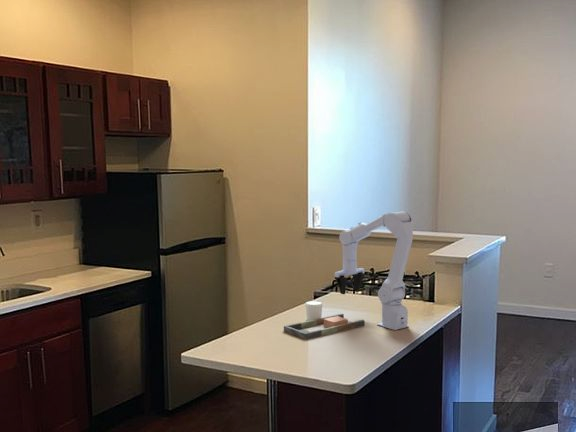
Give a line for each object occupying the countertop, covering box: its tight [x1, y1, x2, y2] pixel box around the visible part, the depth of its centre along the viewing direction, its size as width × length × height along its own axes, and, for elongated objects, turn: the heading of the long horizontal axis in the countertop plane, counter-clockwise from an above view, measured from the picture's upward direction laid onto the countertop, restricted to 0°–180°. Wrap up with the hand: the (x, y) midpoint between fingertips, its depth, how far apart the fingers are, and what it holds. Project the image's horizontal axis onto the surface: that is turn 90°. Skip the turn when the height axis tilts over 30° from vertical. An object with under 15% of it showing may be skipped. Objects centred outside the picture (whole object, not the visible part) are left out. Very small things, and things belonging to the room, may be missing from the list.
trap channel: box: [283, 313, 366, 340], centre depth 230 cm, size 13×29×2 cm, turn 127°
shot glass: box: [305, 300, 323, 321], centre depth 242 cm, size 7×7×7 cm
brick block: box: [323, 316, 349, 328], centre depth 234 cm, size 6×7×3 cm
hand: (349, 292), depth 248 cm, fingers open, 7 cm apart
